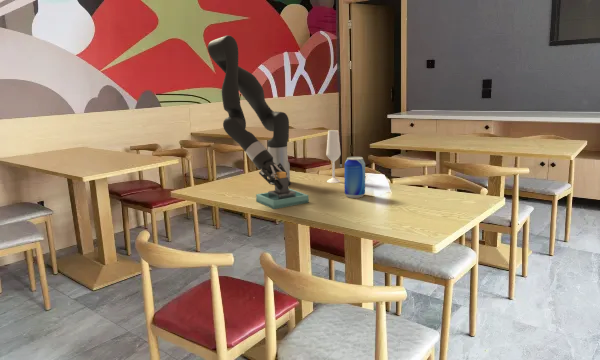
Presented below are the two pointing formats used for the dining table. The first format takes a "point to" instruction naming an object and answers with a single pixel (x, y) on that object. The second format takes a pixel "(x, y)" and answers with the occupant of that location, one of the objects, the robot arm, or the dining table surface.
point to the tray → (282, 200)
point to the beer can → (354, 177)
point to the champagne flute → (333, 151)
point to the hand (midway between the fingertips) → (285, 187)
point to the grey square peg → (284, 181)
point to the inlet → (281, 195)
